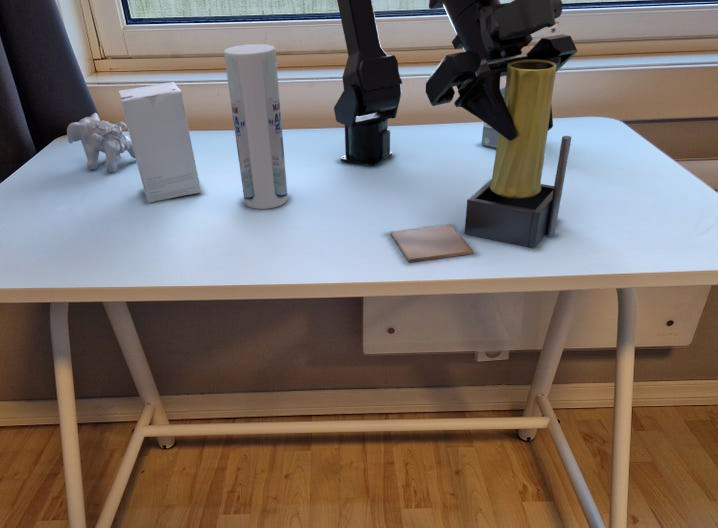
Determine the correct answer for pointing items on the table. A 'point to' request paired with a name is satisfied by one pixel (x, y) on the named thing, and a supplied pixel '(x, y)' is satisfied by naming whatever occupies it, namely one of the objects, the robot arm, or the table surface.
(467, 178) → the table surface
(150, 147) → the cosmetic box
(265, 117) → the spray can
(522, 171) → the vase
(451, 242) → the cork pad
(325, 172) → the table surface
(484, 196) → the holder
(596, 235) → the table surface
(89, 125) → the elephant statuette
